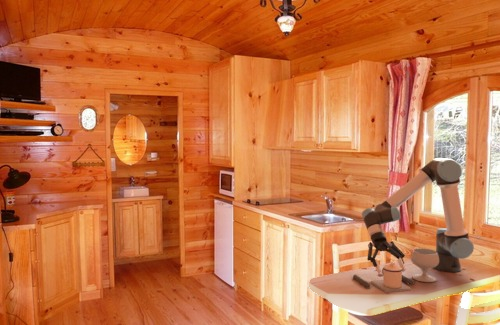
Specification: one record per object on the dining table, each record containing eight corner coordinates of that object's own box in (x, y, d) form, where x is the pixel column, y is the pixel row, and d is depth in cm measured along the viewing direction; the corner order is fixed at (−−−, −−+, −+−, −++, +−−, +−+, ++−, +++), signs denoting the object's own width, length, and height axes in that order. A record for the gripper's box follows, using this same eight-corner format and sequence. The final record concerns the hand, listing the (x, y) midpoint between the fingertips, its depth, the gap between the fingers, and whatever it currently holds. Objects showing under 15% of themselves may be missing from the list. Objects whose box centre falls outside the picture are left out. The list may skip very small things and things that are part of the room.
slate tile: (394, 280, 217) (394, 278, 217) (410, 290, 204) (410, 288, 204) (370, 282, 214) (370, 280, 214) (385, 292, 201) (385, 290, 201)
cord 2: (393, 276, 226) (393, 271, 225) (397, 275, 226) (397, 271, 226) (410, 285, 211) (410, 281, 211) (414, 285, 211) (414, 280, 211)
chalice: (406, 279, 220) (406, 251, 219) (415, 273, 231) (416, 246, 230) (433, 285, 211) (434, 256, 210) (442, 278, 221) (443, 251, 220)
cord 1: (352, 279, 220) (352, 274, 220) (356, 278, 221) (357, 274, 221) (366, 289, 206) (366, 284, 205) (371, 288, 206) (371, 284, 206)
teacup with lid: (406, 287, 205) (406, 263, 205) (391, 289, 202) (392, 266, 201) (389, 279, 216) (389, 257, 216) (375, 281, 213) (375, 259, 212)
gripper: (395, 237, 227) (410, 273, 213) (353, 239, 221) (366, 276, 207) (400, 230, 221) (417, 266, 207) (358, 232, 216) (372, 269, 202)
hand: (391, 271), depth 207 cm, fingers open, 13 cm apart
